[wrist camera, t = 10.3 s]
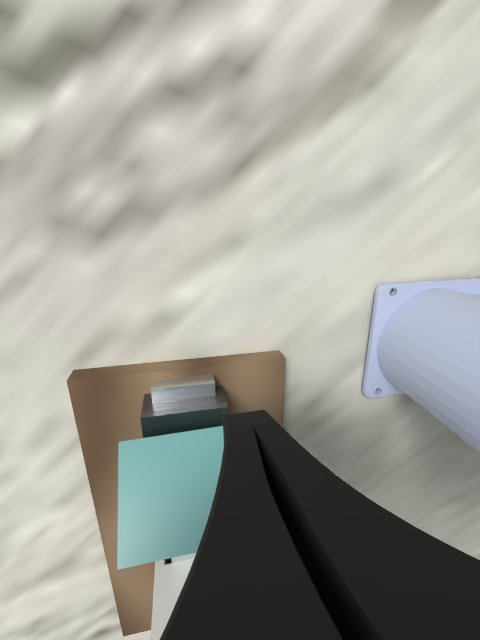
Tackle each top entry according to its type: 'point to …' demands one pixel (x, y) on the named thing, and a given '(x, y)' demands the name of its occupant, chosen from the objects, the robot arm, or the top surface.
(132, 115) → the top surface
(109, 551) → the mounting board
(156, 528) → the teal module
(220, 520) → the robot arm
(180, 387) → the steel rail
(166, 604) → the grey module
